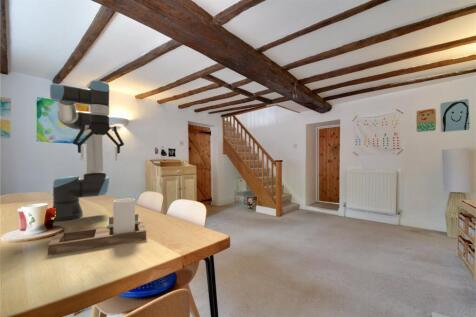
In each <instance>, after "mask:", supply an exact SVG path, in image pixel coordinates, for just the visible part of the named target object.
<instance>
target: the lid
mask: <svg viewBox="0 0 476 317" xmlns="http://www.w3.org/2000/svg"><path fill="white" fill-rule="evenodd" d="M139 218H140V217H139V213H135V224H139V223H140V222H141V221H140V219H139ZM106 227H107V228H109V227H113V216H108V218H107V225H106Z"/></svg>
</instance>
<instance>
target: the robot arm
mask: <svg viewBox="0 0 476 317" xmlns="http://www.w3.org/2000/svg"><path fill="white" fill-rule="evenodd" d="M110 91H111V90H110V85H109V83H108V82H106V81H101V80H95V79H94V80H91V81H90V85H89V88H84V87H83V88H82V87H77V86H70V85H66V84H65V85H64V84H57V83H52V84H50V86H49V95H50V97H49V98H50V100H52V101H55V102H57V106H58V111H57V113H56V114H57V119H58V120H59V122H61V124H63V125H64V126H66V127H68V128H70V129H72V130H77V131H78V130H79V132H78V133H77V135H76V136H75V138H74V140H72V144H73V145H75V146H77V153H78V154H80V161H84V156H85V155H84V144H85V142H86V145H85V146H86V148H85V149H86V152H85V153H86V172H85V173H84V174H83V177H80V176H79V175H70V176H69V175H68V176H63V177H57V178H55V179H54V180H53V183H52V184H53V185H52V192H53V193H52V196H53V197H52V202H53V203H52V206H51V209H52V208H56V217H55V218H54V221H53V222H57V221H58V222H59V221H61V222H62V221H69V220H73V219H74V220H76V219H78V218H80V217H83V214H84V212H83V209H82V206H81V204H80V198H90V197H91V198H92V197H102V196H106V195H107V193H108V190H109V183H110V177H109V176H107V173H106V172H105V171H104V156H103V153H104V152H103V136H105V135H106V137H108V138H109V140H111V141H112V142H113V143H114V144H115V148H114V149H115V150H114V151H115V153H114V154H115V156H114V158H115V161H118V154H120V153H121V147H124V146H125V143H124V141H123V139H122V138H121V136H120V134H119V132H118V131H117V126H110V116H109V115H110ZM77 104H80V105H87V106H90V107H89V109H90V110H89V111H81V110H80V111H79V110H77ZM110 130H111V131H112V132H114V135H115V137H116V138H117V139H118V141H117V140H116V139H115V137H113V136H112V135H111V134H110V132H109V131H110ZM83 134H84V135H85V137H83V138H82V139H81V137H82V136H83ZM80 139H81V140H80Z"/></svg>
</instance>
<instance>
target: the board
mask: <svg viewBox="0 0 476 317" xmlns="http://www.w3.org/2000/svg"><path fill="white" fill-rule="evenodd" d="M143 240H147V229H146V227H145V224H144V222H143V221H142V222H141V221H140V223H139V224H135V231H134V232H127V233H121V234H114V235H113V227H109V228H107V226H101V227H94V228H87V229H80V230H73V231H71V230H70V231H64V232H57V233H56V234H55V236H54V237H53V238H52V240H51V241H50V242H49V243H48V245H47V256H52V255H59V254H65V253H70V252H77V251H83V250H88V249H94V248H96V249H97V248H100V247H102V248H103V247H106V246H113V245H119V244H126V243H130V242H137V241H138V242H139V241H143Z"/></svg>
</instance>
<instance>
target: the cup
mask: <svg viewBox="0 0 476 317" xmlns="http://www.w3.org/2000/svg"><path fill="white" fill-rule="evenodd" d="M112 206H113V208H112V209H113V211H112V212H113V214H112V215H113V235H114V234H121V233H127V232H134V231H135V214H136V199H135V198H130V197H129V198H128V197H126V198H118V199H114V200H113V205H112Z"/></svg>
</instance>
